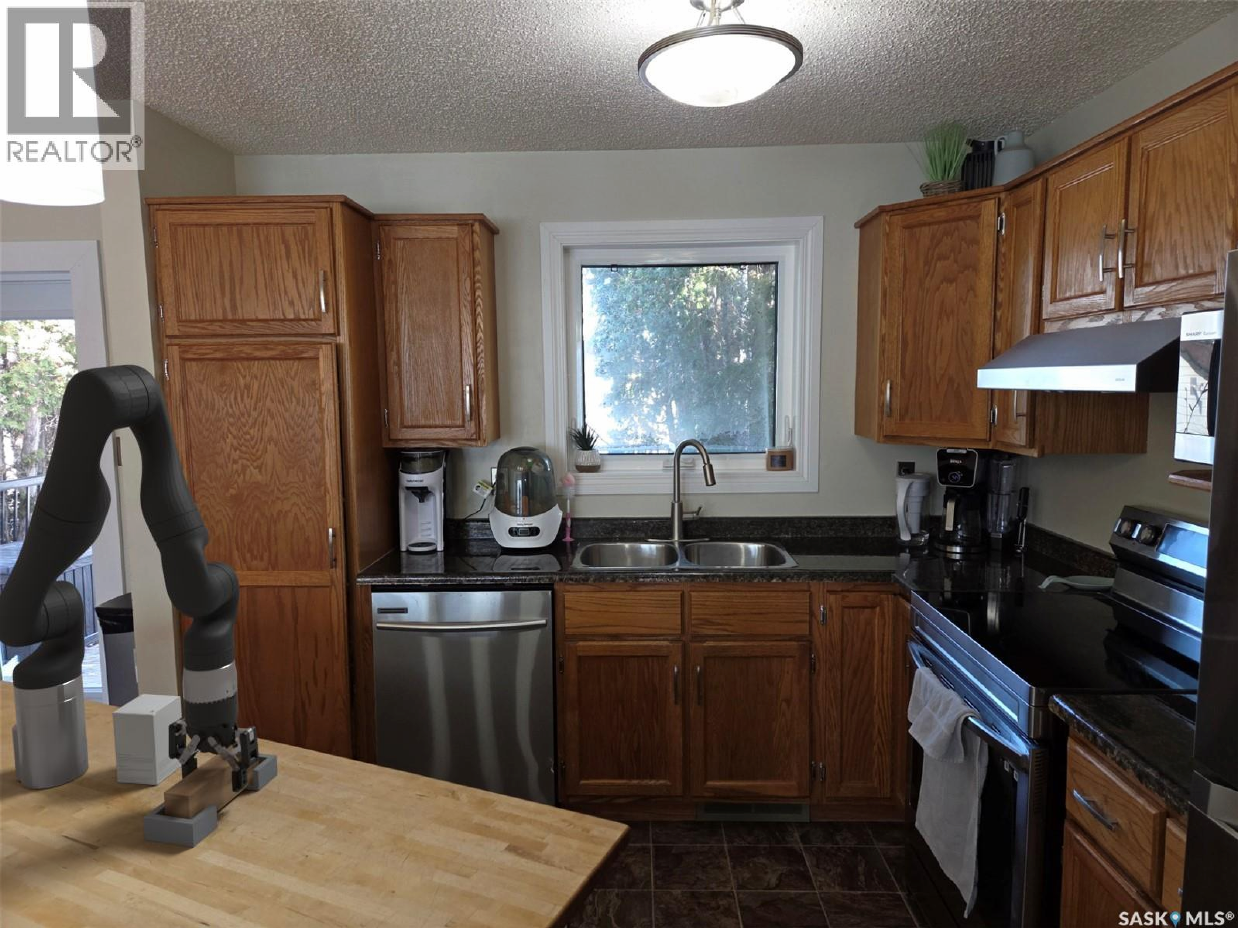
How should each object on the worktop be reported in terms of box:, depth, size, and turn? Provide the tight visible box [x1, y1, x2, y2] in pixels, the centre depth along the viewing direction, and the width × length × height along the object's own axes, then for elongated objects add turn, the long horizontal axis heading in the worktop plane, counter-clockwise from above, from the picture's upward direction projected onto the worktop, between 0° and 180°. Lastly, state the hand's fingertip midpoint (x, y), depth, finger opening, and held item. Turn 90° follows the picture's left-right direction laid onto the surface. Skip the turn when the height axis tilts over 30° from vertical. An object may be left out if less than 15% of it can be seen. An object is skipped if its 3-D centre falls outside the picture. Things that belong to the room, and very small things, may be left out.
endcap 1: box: [143, 801, 218, 848], centre depth 113 cm, size 8×5×4 cm, turn 80°
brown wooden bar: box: [163, 745, 259, 820], centre depth 120 cm, size 4×16×6 cm, turn 170°
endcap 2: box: [244, 752, 278, 792], centre depth 128 cm, size 8×5×4 cm, turn 80°
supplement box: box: [111, 693, 183, 786], centre depth 129 cm, size 7×7×13 cm
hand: (215, 786), depth 120 cm, fingers open, 8 cm apart
